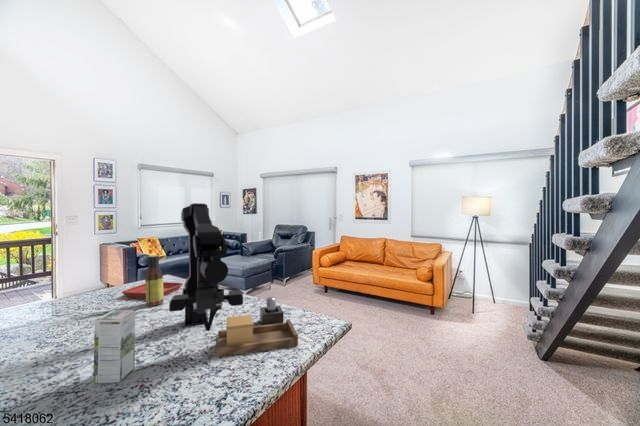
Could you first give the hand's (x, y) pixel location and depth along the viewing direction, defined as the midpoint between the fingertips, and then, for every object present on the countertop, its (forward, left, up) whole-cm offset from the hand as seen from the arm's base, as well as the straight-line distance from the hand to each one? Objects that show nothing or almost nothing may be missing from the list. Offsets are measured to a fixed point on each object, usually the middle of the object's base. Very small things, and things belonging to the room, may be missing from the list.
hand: (208, 330), depth 78 cm
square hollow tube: (+20, +12, -5) cm, 23 cm away
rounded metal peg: (+20, +12, -3) cm, 23 cm away
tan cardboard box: (+9, 0, -5) cm, 10 cm away
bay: (+14, 0, -5) cm, 14 cm away
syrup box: (-19, -8, -5) cm, 22 cm away
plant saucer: (-27, +62, -6) cm, 68 cm away
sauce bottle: (-23, +45, -5) cm, 51 cm away
